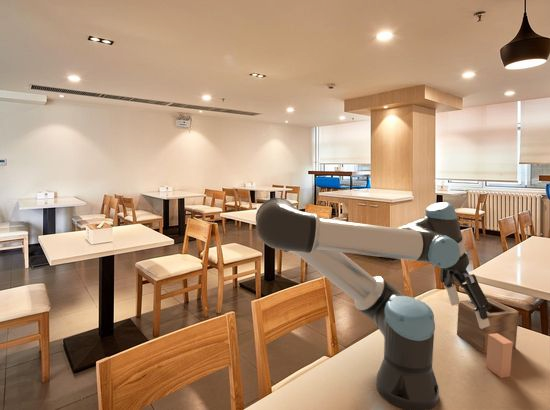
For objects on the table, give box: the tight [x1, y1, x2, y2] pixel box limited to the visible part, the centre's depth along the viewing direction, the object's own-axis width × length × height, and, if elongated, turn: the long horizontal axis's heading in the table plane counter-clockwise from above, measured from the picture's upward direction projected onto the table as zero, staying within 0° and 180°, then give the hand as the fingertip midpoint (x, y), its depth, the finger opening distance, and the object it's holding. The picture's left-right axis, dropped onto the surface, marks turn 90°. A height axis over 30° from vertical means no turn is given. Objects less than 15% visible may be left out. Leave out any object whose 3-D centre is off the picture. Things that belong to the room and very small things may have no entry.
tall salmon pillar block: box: [485, 333, 513, 379], centre depth 92 cm, size 3×5×10 cm, turn 11°
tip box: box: [456, 297, 519, 353], centre depth 107 cm, size 12×11×12 cm
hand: (469, 314), depth 101 cm, fingers open, 13 cm apart
